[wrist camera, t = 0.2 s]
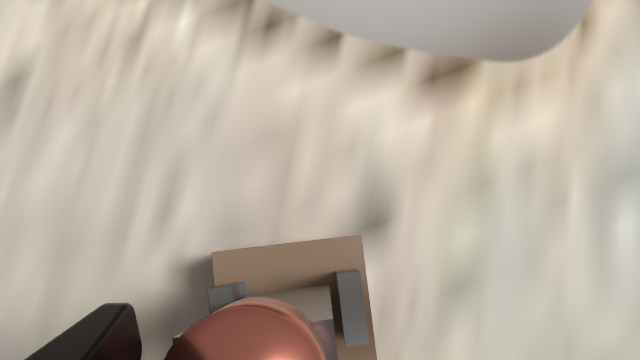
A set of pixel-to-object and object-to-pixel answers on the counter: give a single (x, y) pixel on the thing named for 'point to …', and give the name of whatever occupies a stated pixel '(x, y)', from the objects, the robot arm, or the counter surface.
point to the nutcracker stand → (304, 283)
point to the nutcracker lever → (264, 329)
